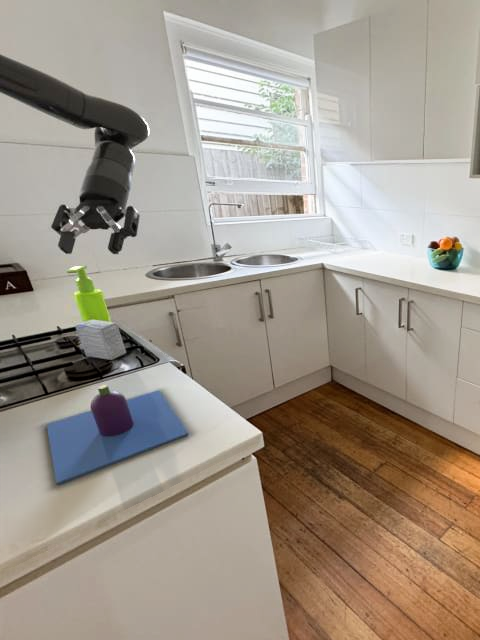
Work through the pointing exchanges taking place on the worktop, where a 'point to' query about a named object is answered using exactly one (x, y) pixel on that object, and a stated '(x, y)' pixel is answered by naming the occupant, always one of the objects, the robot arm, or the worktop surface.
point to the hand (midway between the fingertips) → (89, 251)
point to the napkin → (110, 437)
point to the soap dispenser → (89, 297)
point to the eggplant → (111, 412)
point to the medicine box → (101, 339)
